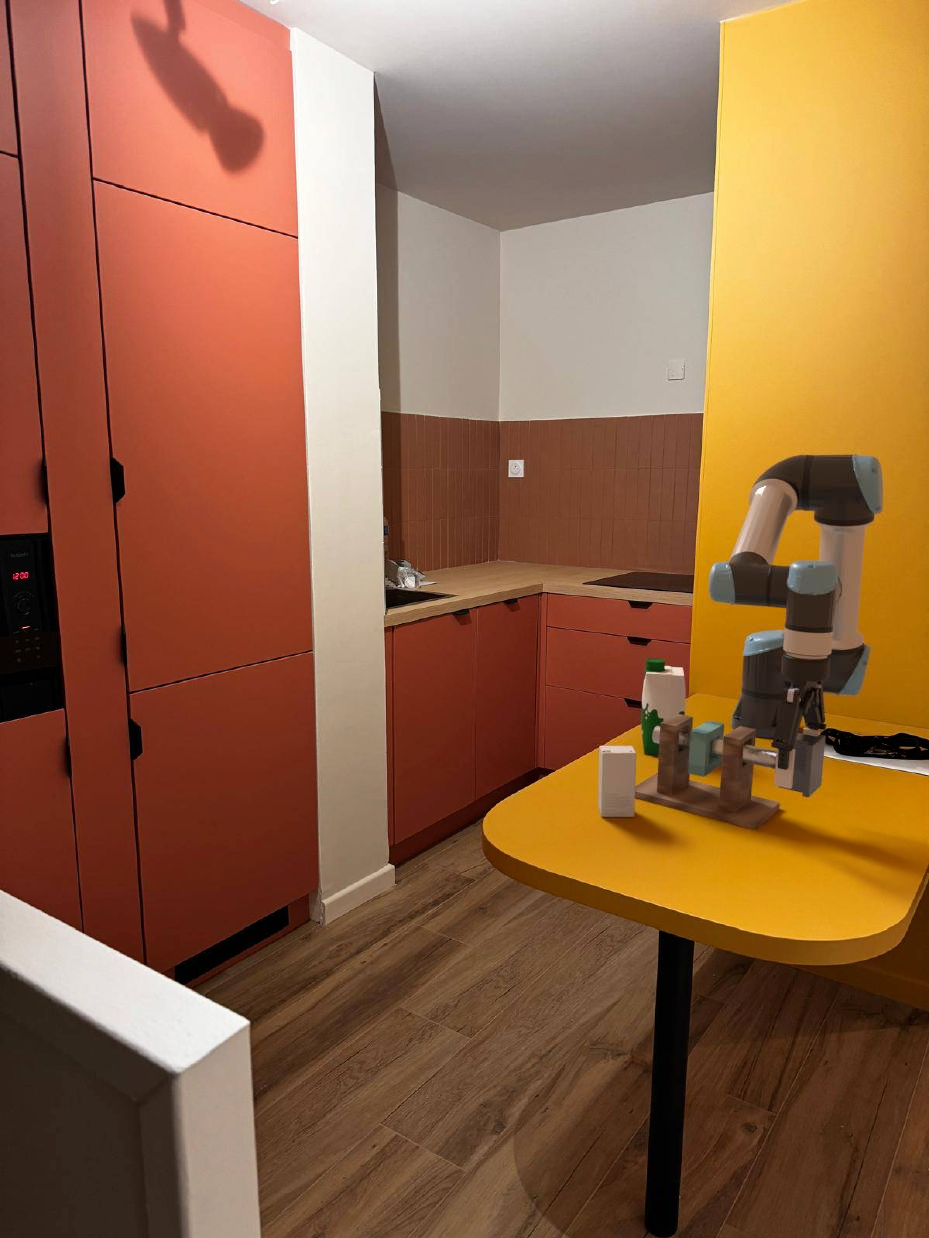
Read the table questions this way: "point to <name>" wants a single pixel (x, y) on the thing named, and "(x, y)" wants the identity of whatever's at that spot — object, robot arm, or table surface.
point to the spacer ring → (704, 748)
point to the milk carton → (660, 699)
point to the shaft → (805, 760)
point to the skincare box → (617, 781)
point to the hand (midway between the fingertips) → (796, 775)
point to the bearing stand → (701, 798)
